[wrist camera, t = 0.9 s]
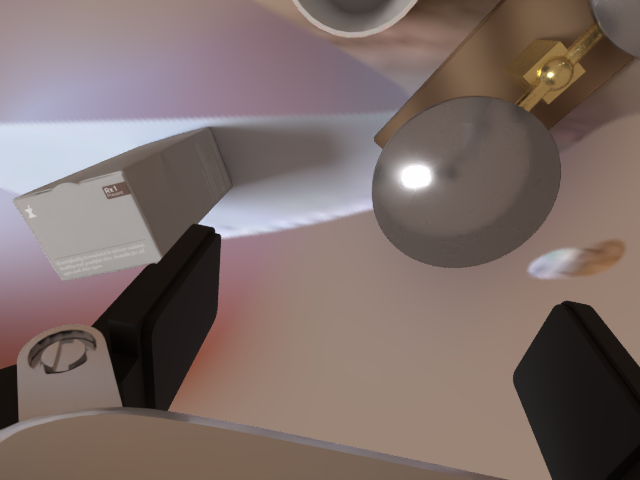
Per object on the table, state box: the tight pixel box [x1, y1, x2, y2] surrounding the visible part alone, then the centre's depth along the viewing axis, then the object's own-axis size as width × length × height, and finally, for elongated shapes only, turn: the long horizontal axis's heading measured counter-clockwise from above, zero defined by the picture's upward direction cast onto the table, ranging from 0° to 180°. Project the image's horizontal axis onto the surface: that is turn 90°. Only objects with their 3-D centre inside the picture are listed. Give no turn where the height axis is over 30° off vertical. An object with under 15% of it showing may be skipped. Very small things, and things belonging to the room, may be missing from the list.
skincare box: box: [13, 127, 232, 281], centre depth 31 cm, size 8×7×16 cm
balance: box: [372, 0, 640, 268], centre depth 26 cm, size 30×12×10 cm, turn 140°
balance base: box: [374, 0, 633, 149], centre depth 31 cm, size 24×10×2 cm, turn 140°
